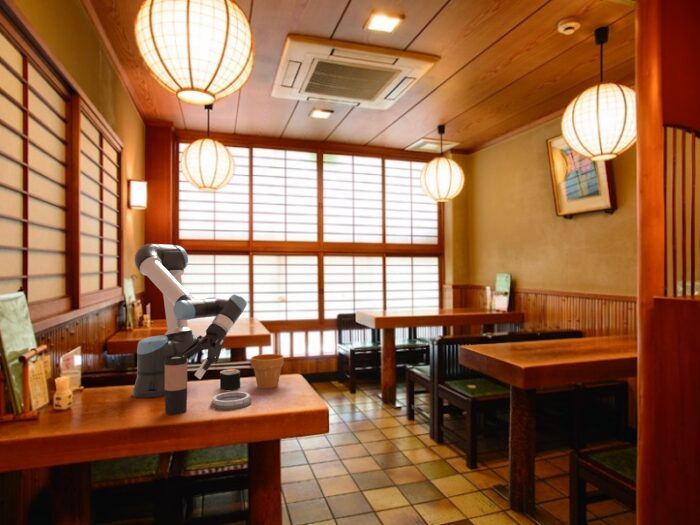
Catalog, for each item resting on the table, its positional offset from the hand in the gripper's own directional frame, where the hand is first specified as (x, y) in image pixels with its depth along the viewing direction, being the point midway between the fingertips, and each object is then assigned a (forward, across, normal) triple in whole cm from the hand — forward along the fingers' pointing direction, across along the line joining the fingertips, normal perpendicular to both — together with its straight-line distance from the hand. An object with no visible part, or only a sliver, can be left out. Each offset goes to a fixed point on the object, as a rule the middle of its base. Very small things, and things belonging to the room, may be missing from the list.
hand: (186, 374), depth 158 cm
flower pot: (-19, 0, -38) cm, 43 cm away
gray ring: (-1, -7, -20) cm, 21 cm away
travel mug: (+12, +2, -7) cm, 14 cm away
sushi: (-11, +12, -30) cm, 35 cm away
